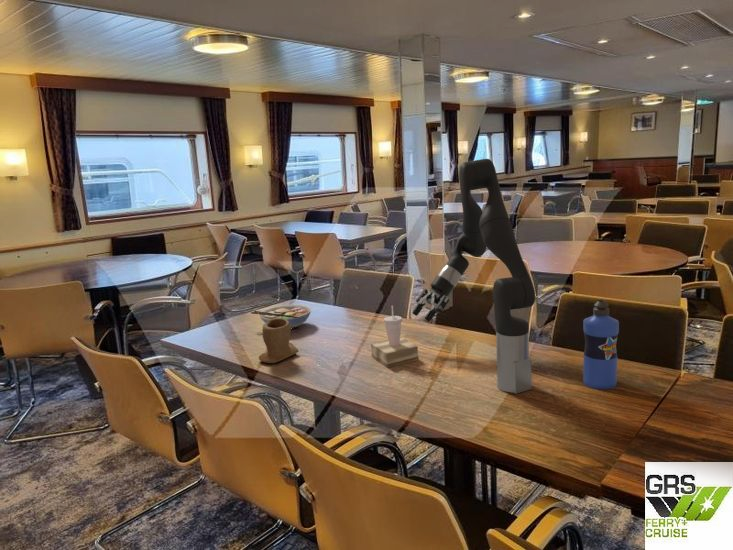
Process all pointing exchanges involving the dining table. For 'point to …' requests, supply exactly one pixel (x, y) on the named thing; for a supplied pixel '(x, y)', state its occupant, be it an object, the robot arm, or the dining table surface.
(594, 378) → the water bottle
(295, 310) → the ramen bowl
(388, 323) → the smoothie
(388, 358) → the low rectangular block
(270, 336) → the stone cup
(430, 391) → the dining table surface
